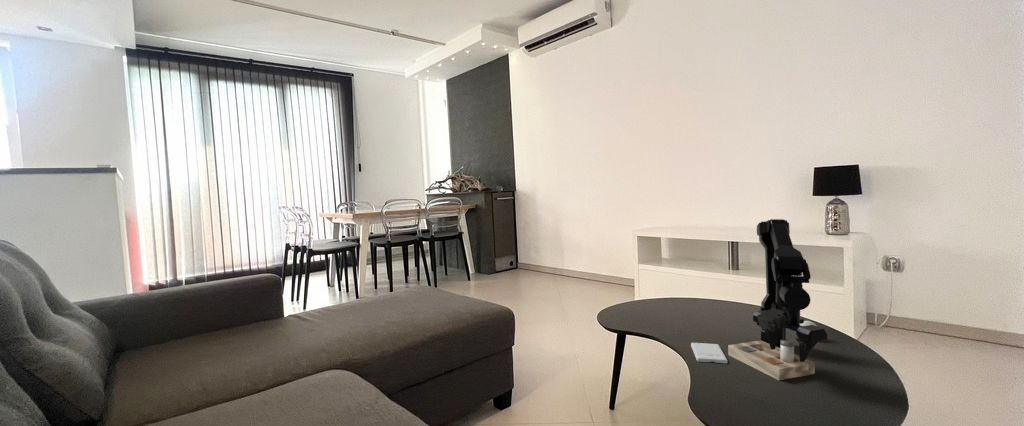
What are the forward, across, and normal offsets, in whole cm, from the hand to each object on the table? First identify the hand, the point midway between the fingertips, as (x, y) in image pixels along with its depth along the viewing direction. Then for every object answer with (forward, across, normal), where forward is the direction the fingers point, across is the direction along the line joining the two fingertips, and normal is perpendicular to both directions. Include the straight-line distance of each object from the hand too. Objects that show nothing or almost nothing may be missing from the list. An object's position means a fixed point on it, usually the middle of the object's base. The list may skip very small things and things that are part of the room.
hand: (787, 355), depth 121 cm
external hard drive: (+5, -16, -13) cm, 21 cm away
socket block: (+4, -4, -2) cm, 6 cm away
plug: (+4, 0, 0) cm, 4 cm away
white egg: (+4, -17, +28) cm, 33 cm away
